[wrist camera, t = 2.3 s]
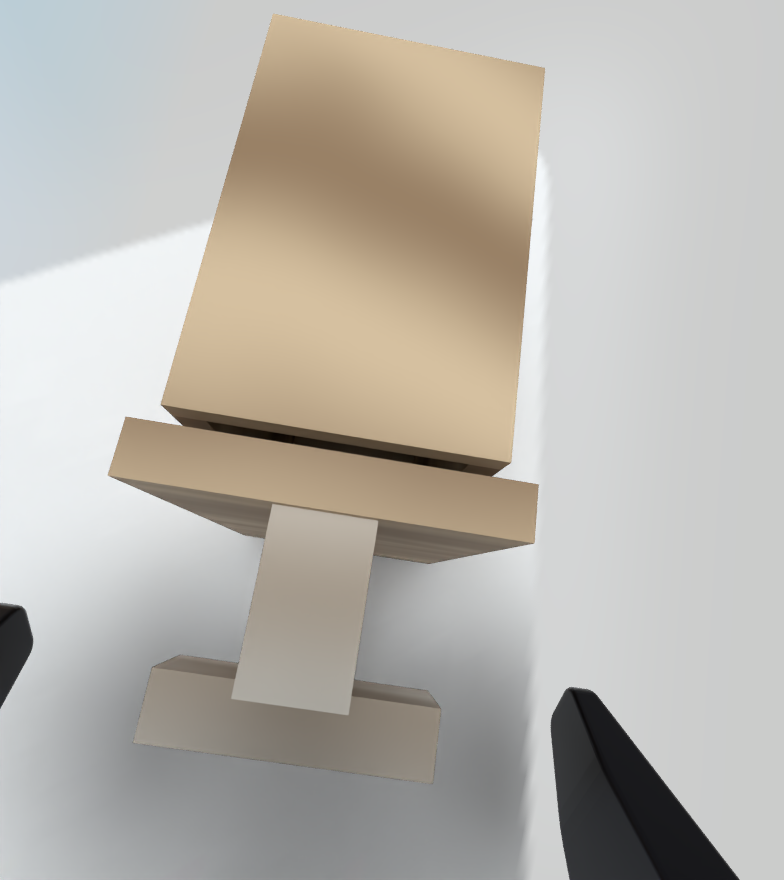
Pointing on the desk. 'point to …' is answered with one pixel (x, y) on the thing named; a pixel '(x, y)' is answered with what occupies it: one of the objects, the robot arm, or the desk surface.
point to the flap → (310, 593)
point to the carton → (368, 253)
